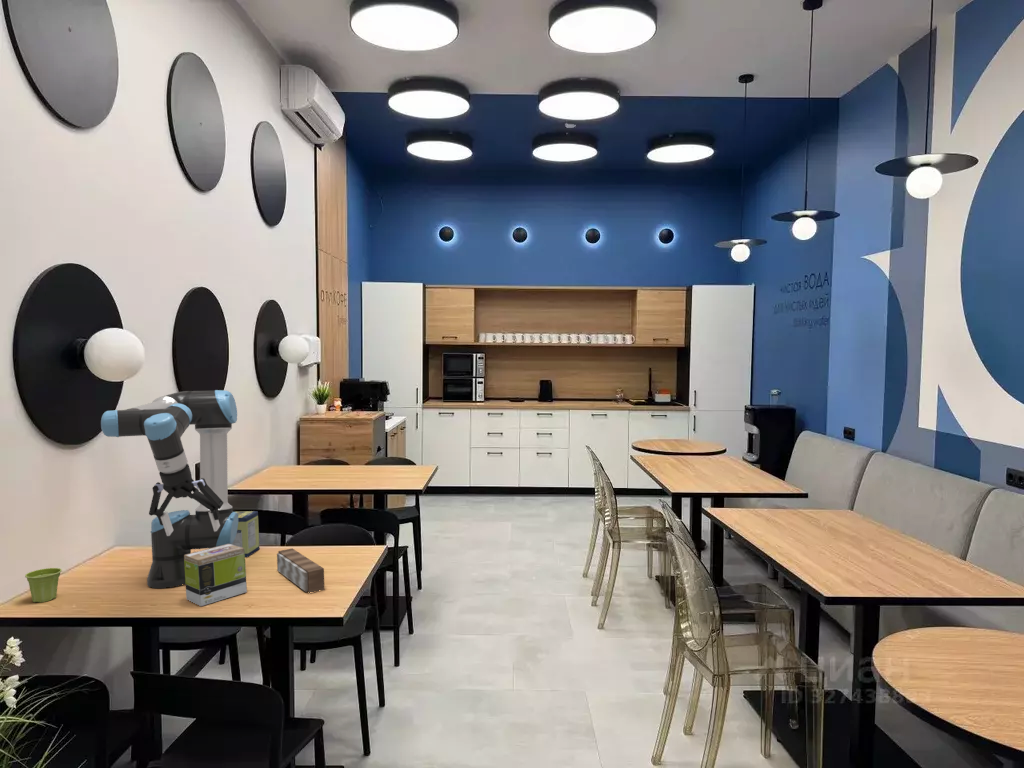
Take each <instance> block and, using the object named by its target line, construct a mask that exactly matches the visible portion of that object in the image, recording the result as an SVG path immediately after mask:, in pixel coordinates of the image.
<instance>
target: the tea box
mask: <svg viewBox="0 0 1024 768" xmlns="http://www.w3.org/2000/svg"><path fill="white" fill-rule="evenodd" d="M184 565H185V596H186V601H188V600H189V602H190V601H191V602H190V603H192V602H193V603H192V604H194V603H195V605H196V604H197V605H196V606H198V605H199V607H203V606H206V605H209V604H213V603H216V602H219V601H222V600H225V599H229V598H232V597H235V596H239V595H241V594H244V593H248V587H247V584H248V583H247V571H246V570H247V569H246V568H247V567H246V557H245V551H244V548H242V547H238V546H235V545H232V544H225V545H222V546H218V547H214V548H210V549H209V548H205V549H201V550H199V551H194V552H191V553H190V554H186V555H184Z"/></svg>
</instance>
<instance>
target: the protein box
mask: <svg viewBox="0 0 1024 768" xmlns="http://www.w3.org/2000/svg"><path fill="white" fill-rule="evenodd" d="M235 512H236V513H237V514H238V528H237V533H236V537H235V540H234V542H233V543H232V545H235V546H238V547H242V548H244V551H245V558H249V557H251V555H253V554H255V553H257V552H258V551H259V550H260V534H259V533H260V531H259V530H260V529H259V512H258V511H255V510H253V511H252V510H251V511H250V510H249V511H235ZM208 549H210V548H208Z"/></svg>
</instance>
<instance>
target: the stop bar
mask: <svg viewBox="0 0 1024 768" xmlns="http://www.w3.org/2000/svg"><path fill="white" fill-rule="evenodd" d="M276 566H277V567H276V568H277V571H278V572H279V573H280V574H282V575H283V576H284V577H286V578H287V579H288V580H290V581H291V582H292V583H293V584H294V585H296V586H297V587H299V588H300V589H301V590H302V591H304V592H305V593H308V592H309V593H310V592H314V591H318V592H320V591H319V590H322V591H325V567H323V566H320V565H319V564H318V563H316V562H314V560H311V559H310V558H308V557H306V556H305V555H303V554H302V553H300V552H298V551H297V550H295V549H294V548H288V549H282V550H278V551H277V553H276ZM277 571H276V572H277ZM307 591H308V592H307ZM309 593H308V594H309ZM314 593H315V592H314ZM310 594H311V593H310Z"/></svg>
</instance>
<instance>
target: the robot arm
mask: <svg viewBox="0 0 1024 768" xmlns="http://www.w3.org/2000/svg"><path fill="white" fill-rule="evenodd" d="M237 420H238V409H237V403H236V400H235V396H234V395H233V393H232V392H231V391H229V390H223V389H222V390H221V389H219V390H218V389H215V390H213V389H212V390H193V391H192V390H185V391H177V392H174V393H170V394H166V395H163V396H159V397H157V398H155V399H154V400H152V402H150V403H149V402H148V403H145V404H142V405H137V406H135V407H131V408H127V409H121V410H120V409H119V410H118V409H115V410H106V411H104V413H103V414H102V415H101V420H100V428H101V431H102V434H103V435H104V436H106V437H108V438H110V437H112V438H113V437H114V438H121V437H141V436H146V438H147V441H148V444H149V446H150V449H151V451H152V455H153V458H154V462H155V464H156V467H157V470H158V474H159V476H160V479H161V482H159V481H158V482H156V483H155V484H154V485H153V486H152V492H153V493H152V494H153V495H152V499H151V502H150V507H149V511H148V515H149V516H150V517H151V516H156V517H154V518H153V519H152V521H151V529H150V534H151V535H150V536H151V538H150V541H151V556H152V558H151V559H152V562H151V564H150V568H149V572H148V575H147V577H146V585H148V586H149V587H148V586H147V587H148V588H151V587H152V589H167V588H166V587H170V588H174V587H173V586H176V587H179V586H178V585H181V586H183V585H182V584H185V565H184V555H186V554H190V553H192V552H191V551H192V550H206V549H209V548H214V547H218V546H222V545H225V544H232V543H233V542H234V540H235V537H236V533H237V528H238V514H237V513H236V512H237V511H233V505H231V504H230V503H229V500H228V497H229V496H228V495H229V494H228V490H229V489H228V487H229V486H228V484H229V483H228V433H229V432H230V431H231V430H232V428H233V424H236V423H237V422H238V421H237ZM190 425H194V430H195V432H197V433H198V434H199V462H200V463H199V480H194V478H193V477H192V472H191V469H190V465H189V463H188V459H187V455H186V451H185V449H184V446H183V442H182V440H181V437H182V436H183V435H184V433H185V432H186V430H187V429H188V428H189V426H190ZM163 490H164V491H165V492H166V493H167V495H166V497H165V499H164V500H163V502H162V503H161V505H160V507H159V504H160V500H161V496H162V491H163ZM192 492H193V493H192ZM172 498H175V499H179V498H183V499H184V498H189V499H193V500H195V501H196V502H197V503H198V504H199V505H198V507H197V508H196V509H195V511H194V512H195V513H194V514H191V512H190V510H189V509H186V510H184V509H181V510H175V511H171V512H168V511H165V510H166V508H167V507H168V506H169V503H170V502H171V501H172ZM185 585H186V584H185Z"/></svg>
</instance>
